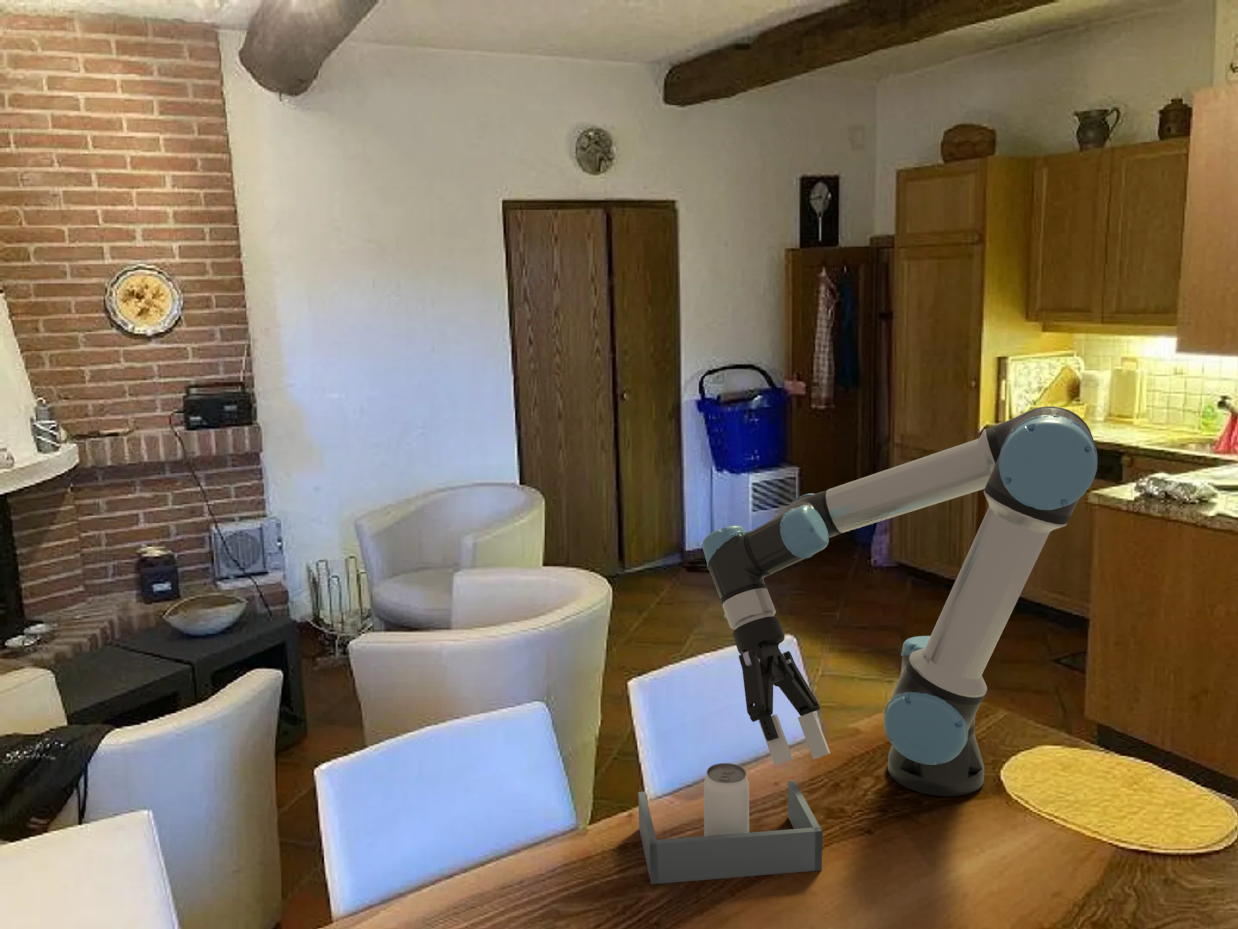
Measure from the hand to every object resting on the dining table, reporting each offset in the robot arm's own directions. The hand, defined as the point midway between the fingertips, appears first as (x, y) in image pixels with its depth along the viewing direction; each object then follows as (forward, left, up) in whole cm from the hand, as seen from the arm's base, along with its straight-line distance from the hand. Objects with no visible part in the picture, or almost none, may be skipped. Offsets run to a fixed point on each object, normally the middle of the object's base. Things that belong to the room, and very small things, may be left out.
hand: (803, 759), depth 144 cm
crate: (+11, +4, -12) cm, 17 cm away
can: (+11, +4, -12) cm, 17 cm away
